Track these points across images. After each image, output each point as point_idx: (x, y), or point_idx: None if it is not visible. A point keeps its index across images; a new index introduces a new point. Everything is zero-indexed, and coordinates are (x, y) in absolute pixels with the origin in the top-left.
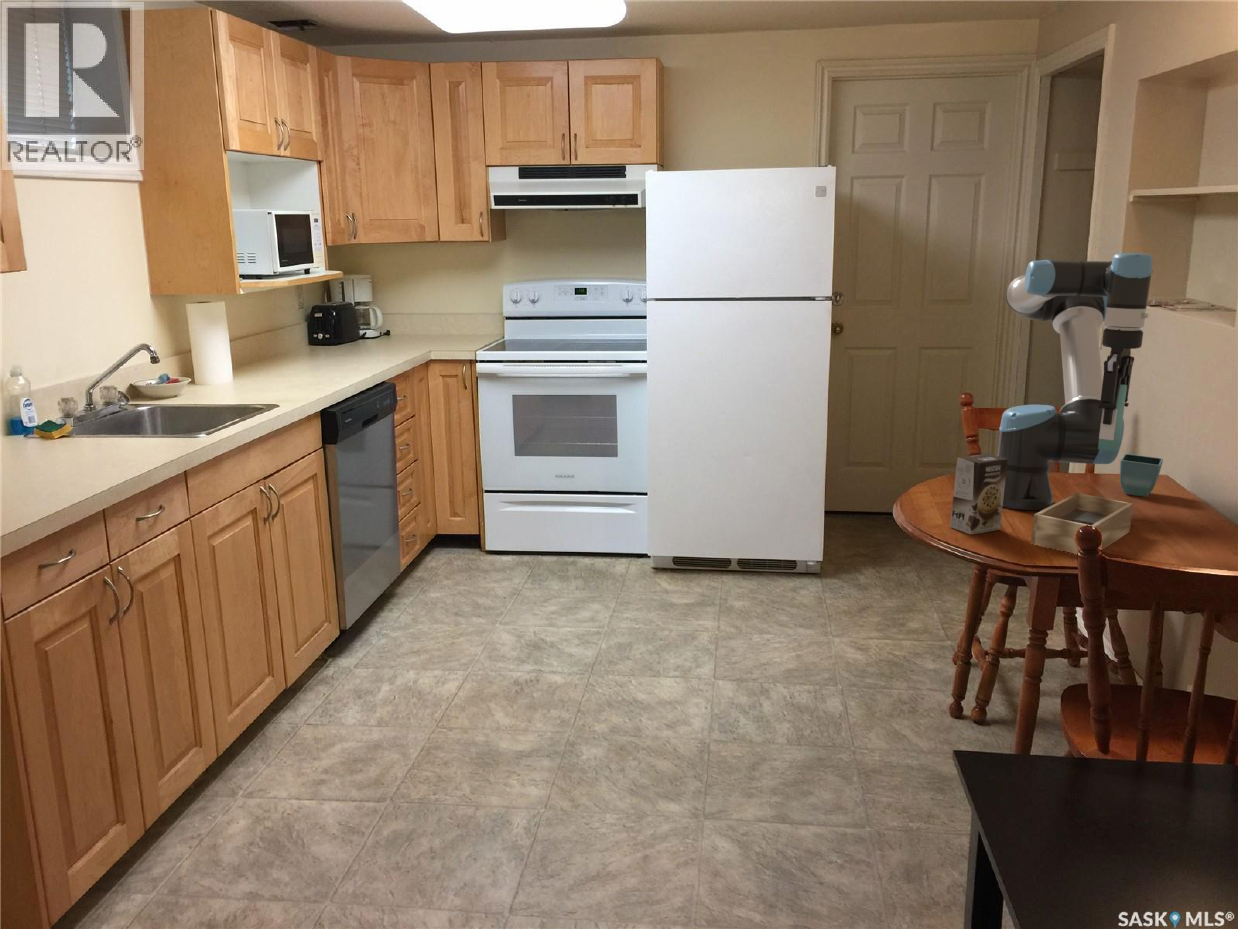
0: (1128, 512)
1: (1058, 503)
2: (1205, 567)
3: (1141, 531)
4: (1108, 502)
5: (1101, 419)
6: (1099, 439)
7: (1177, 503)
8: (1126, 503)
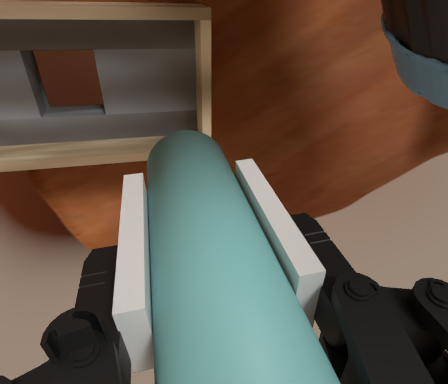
0: None
1: (35, 13)
2: None
3: (223, 141)
4: (201, 103)
5: (119, 245)
6: (167, 156)
7: (445, 119)
8: None
